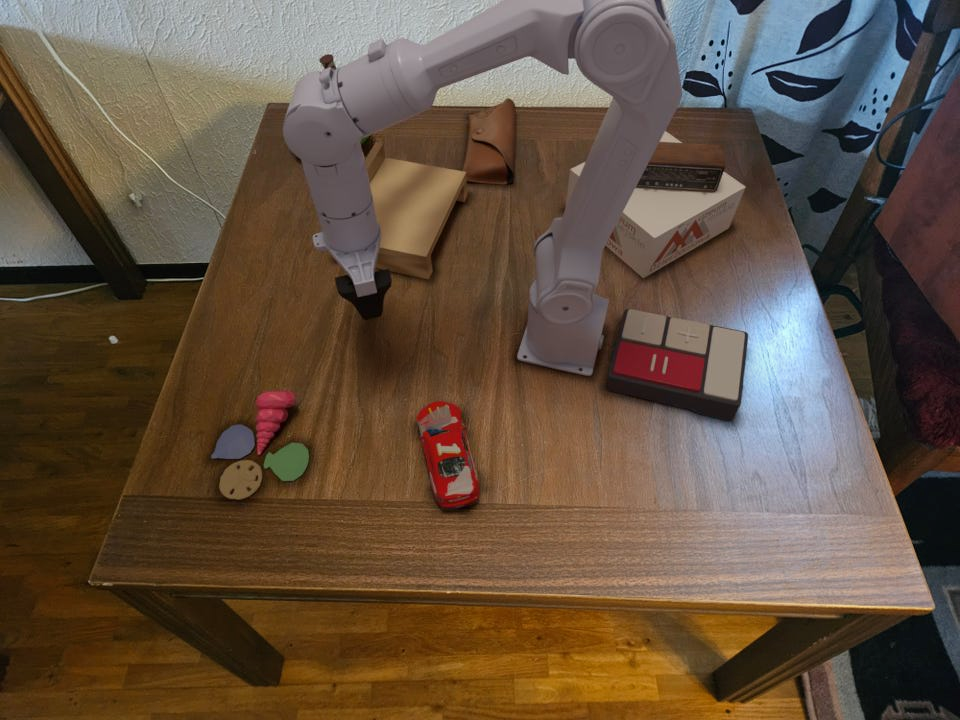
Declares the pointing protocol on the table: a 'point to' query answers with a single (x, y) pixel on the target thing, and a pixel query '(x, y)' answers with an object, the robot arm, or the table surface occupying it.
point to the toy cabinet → (679, 363)
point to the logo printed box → (673, 205)
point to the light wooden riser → (411, 209)
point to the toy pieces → (260, 448)
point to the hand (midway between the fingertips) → (366, 291)
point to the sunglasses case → (491, 145)
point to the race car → (448, 455)
